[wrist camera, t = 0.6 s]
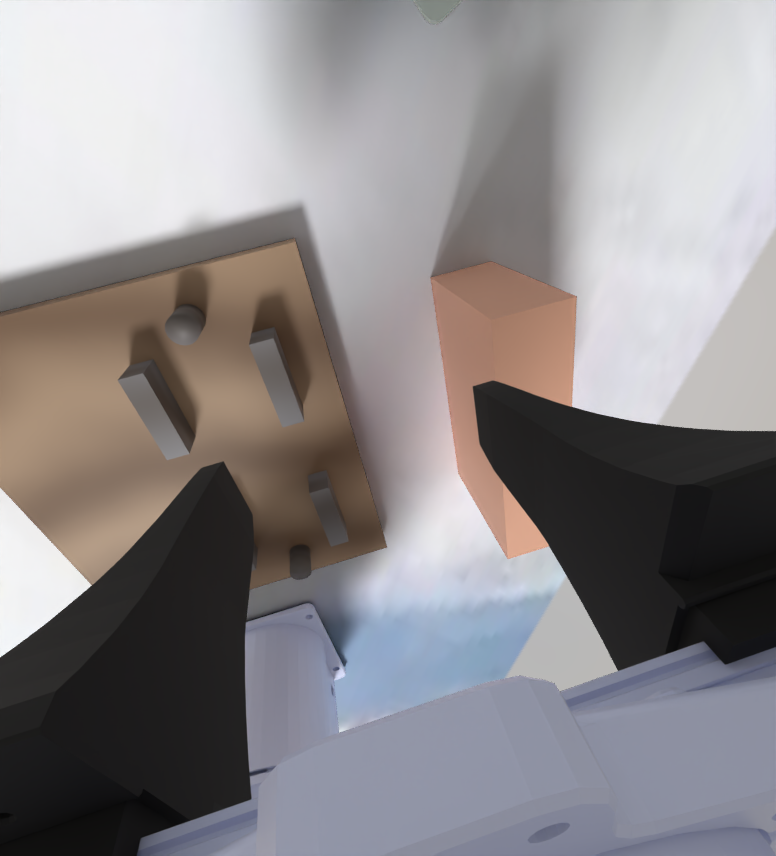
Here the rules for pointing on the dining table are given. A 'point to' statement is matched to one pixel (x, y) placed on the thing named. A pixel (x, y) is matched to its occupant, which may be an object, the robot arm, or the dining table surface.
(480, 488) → the door panel
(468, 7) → the dining table surface
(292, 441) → the cabinet side board
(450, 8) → the grey-green ridged piece
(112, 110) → the dining table surface
